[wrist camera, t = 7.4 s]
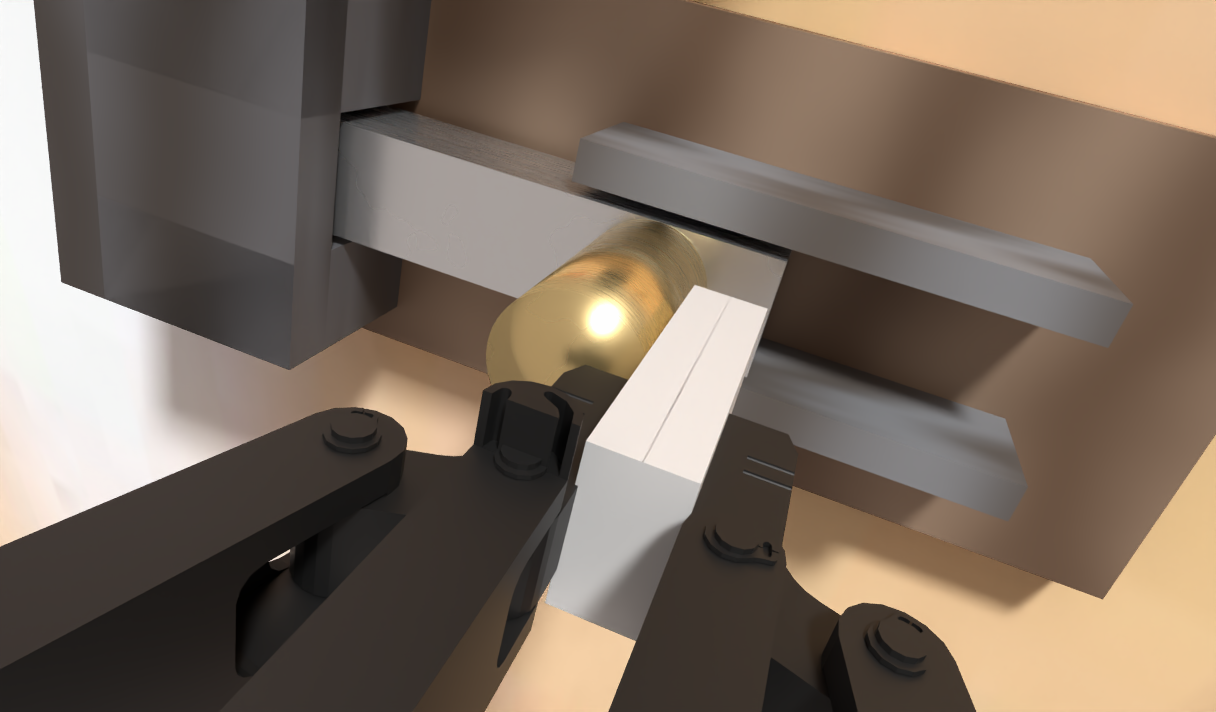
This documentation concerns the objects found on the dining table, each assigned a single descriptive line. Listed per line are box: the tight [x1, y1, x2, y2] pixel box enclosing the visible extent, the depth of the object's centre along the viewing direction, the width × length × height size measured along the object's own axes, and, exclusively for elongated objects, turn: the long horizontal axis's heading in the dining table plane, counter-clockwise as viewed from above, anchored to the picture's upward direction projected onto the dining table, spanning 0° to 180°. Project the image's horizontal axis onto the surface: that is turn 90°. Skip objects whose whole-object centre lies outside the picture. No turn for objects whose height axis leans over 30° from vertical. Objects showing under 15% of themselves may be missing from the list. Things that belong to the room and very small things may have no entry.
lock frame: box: [34, 0, 1216, 599], centre depth 20 cm, size 30×12×7 cm, turn 74°
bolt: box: [332, 105, 792, 386], centre depth 18 cm, size 16×3×8 cm, turn 74°
